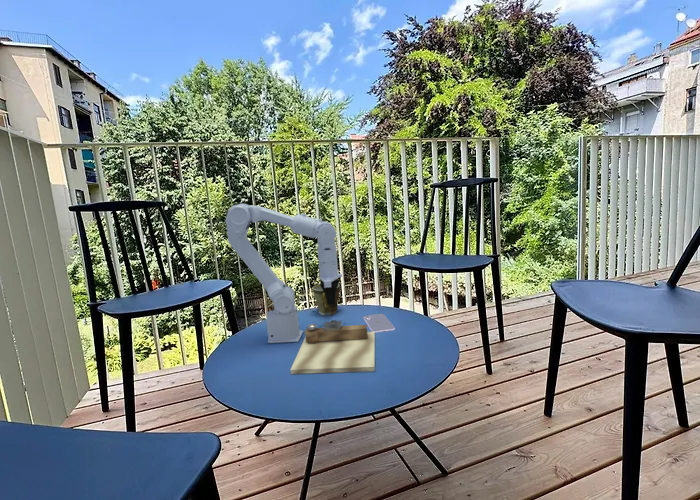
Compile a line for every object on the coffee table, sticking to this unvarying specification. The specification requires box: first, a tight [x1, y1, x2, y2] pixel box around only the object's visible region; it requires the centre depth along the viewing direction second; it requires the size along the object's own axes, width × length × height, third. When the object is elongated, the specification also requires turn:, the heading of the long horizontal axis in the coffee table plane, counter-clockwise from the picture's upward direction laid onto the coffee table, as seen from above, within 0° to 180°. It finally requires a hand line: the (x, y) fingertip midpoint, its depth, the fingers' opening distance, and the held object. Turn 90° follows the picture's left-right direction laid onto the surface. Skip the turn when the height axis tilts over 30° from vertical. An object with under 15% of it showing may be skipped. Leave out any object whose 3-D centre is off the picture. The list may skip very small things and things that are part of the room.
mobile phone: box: [362, 313, 396, 334], centre depth 122 cm, size 8×1×15 cm
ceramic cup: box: [312, 283, 341, 317], centre depth 134 cm, size 13×10×10 cm
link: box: [304, 324, 368, 343], centre depth 109 cm, size 18×4×3 cm, turn 90°
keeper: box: [307, 319, 343, 331], centre depth 110 cm, size 10×6×5 cm, turn 86°
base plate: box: [290, 331, 376, 375], centre depth 103 cm, size 21×22×1 cm
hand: (331, 303), depth 116 cm, fingers closed
